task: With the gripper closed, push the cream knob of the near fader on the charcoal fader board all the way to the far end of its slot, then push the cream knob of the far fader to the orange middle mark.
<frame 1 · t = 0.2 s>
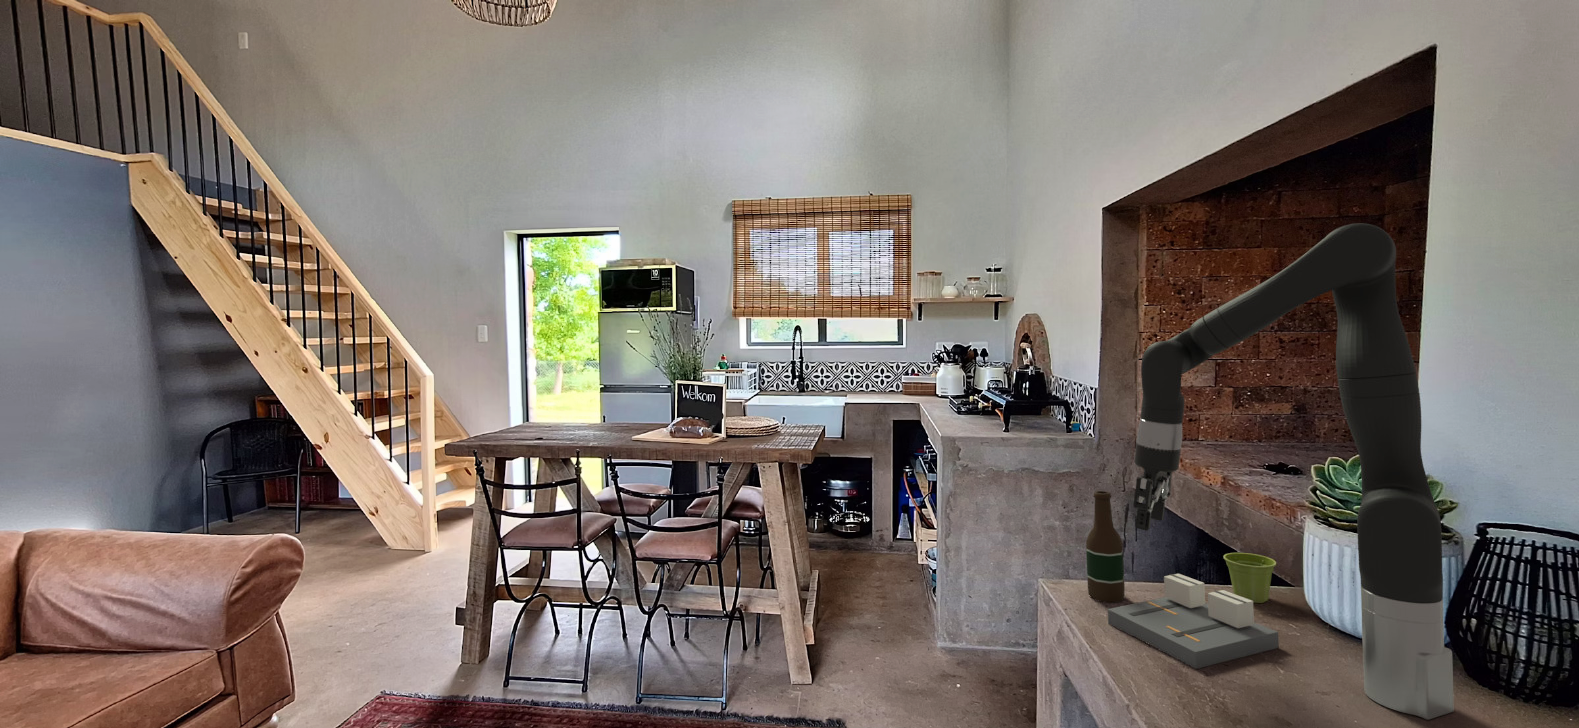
hand: (1149, 524, 124), 22 cm above the table, tool pointing down, fingers open, 8 cm apart
plant pot: (1250, 599, 139), on the table
beer bottle: (1106, 597, 144), on the table
near fader: (1230, 608, 121), point 6 cm above the table, slide at 0.0 cm
far fader: (1184, 590, 131), point 6 cm above the table, slide at 0.0 cm
fader board: (1188, 635, 124), on the table
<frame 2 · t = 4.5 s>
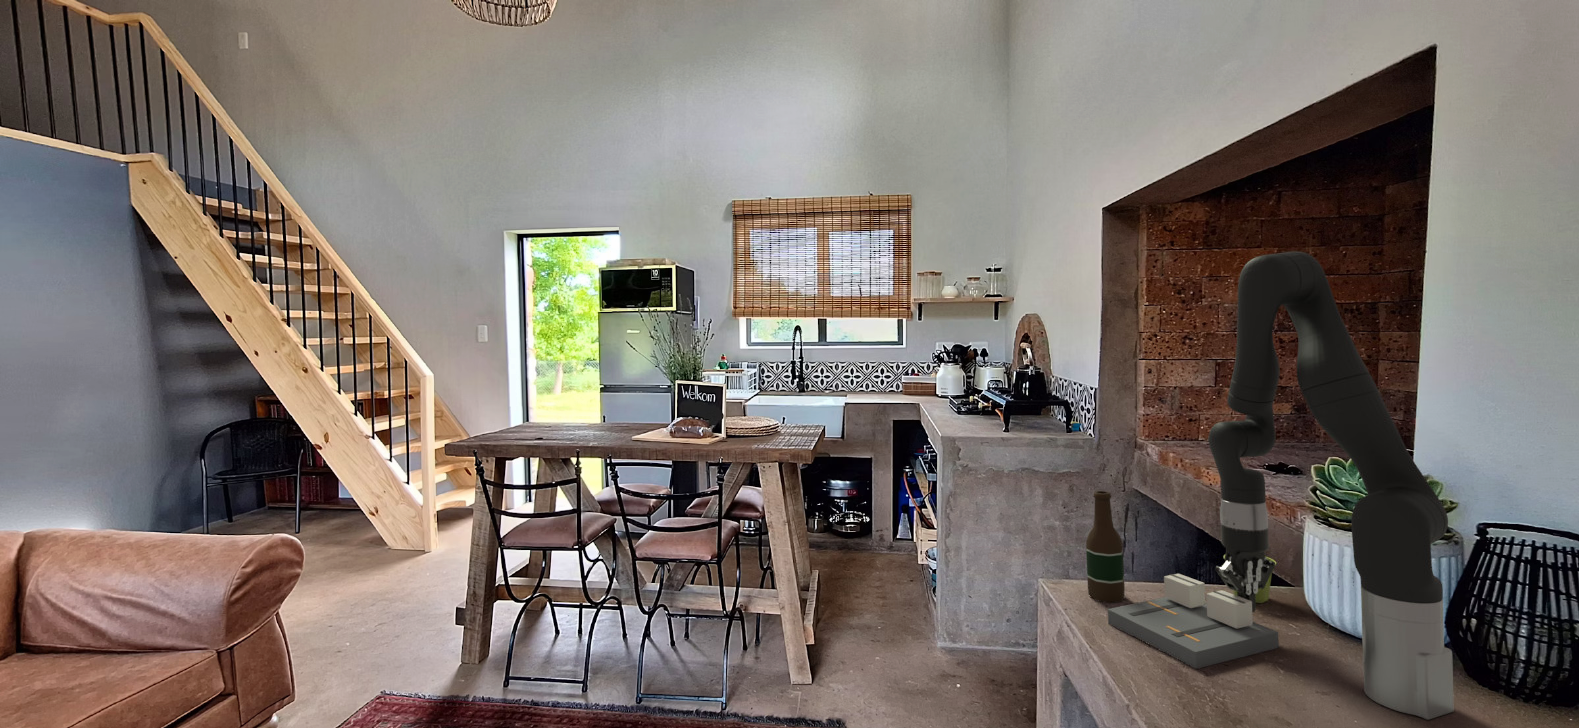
hand: (1247, 611, 123), 5 cm above the table, tool pointing down, fingers closed
near fader: (1229, 608, 121), point 6 cm above the table, slide at 0.3 cm, touching gripper
everything else where it was.
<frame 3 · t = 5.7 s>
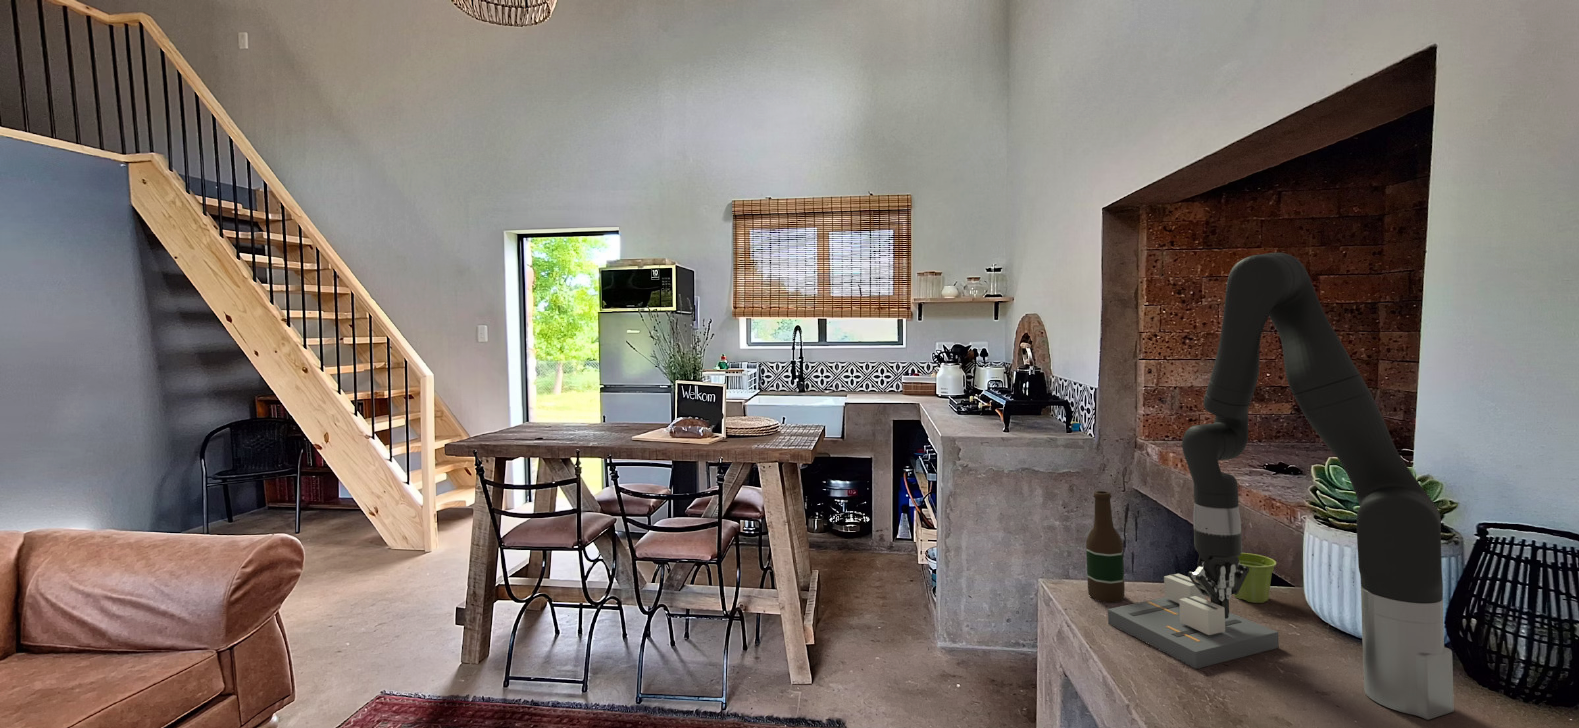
hand: (1220, 617, 121), 5 cm above the table, tool pointing down, fingers closed
near fader: (1201, 614, 119), point 6 cm above the table, slide at 7.2 cm, touching gripper
everything else where it was.
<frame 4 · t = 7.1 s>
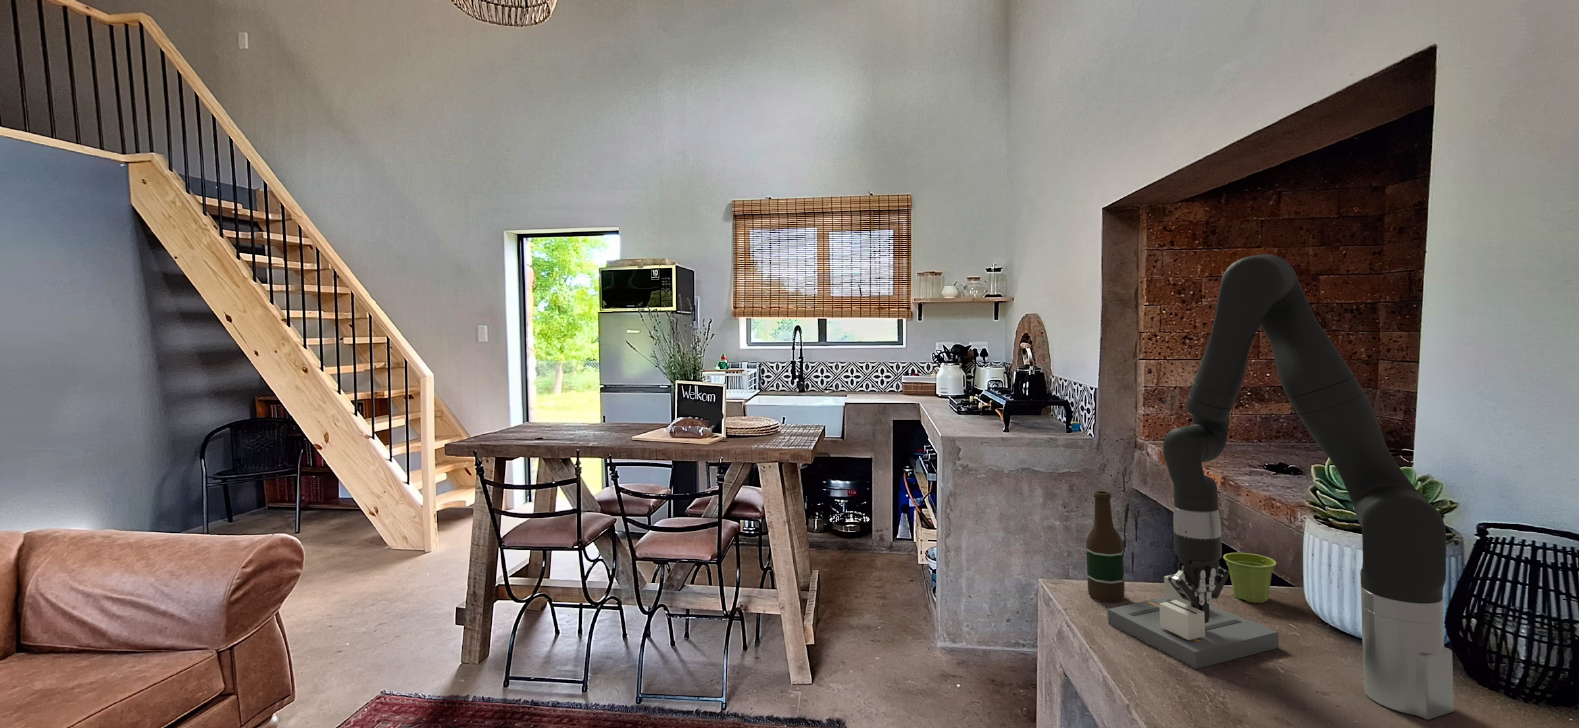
hand: (1200, 621, 119), 5 cm above the table, tool pointing down, fingers closed
near fader: (1181, 619, 118), point 6 cm above the table, slide at 12.1 cm, touching gripper
everything else where it was.
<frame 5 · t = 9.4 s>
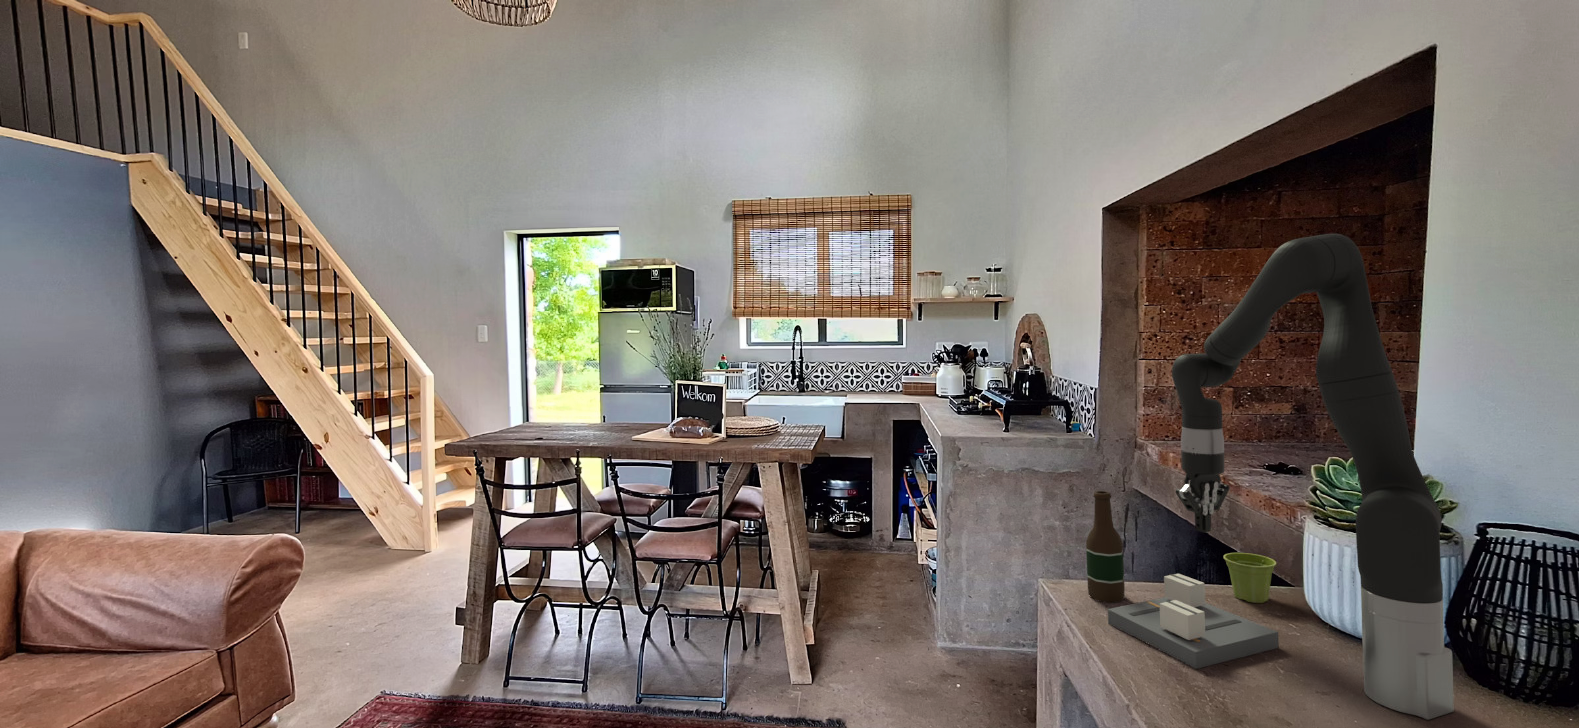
hand: (1203, 531, 132), 18 cm above the table, tool pointing down, fingers closed
near fader: (1181, 619, 118), point 6 cm above the table, slide at 12.0 cm
everything else where it was.
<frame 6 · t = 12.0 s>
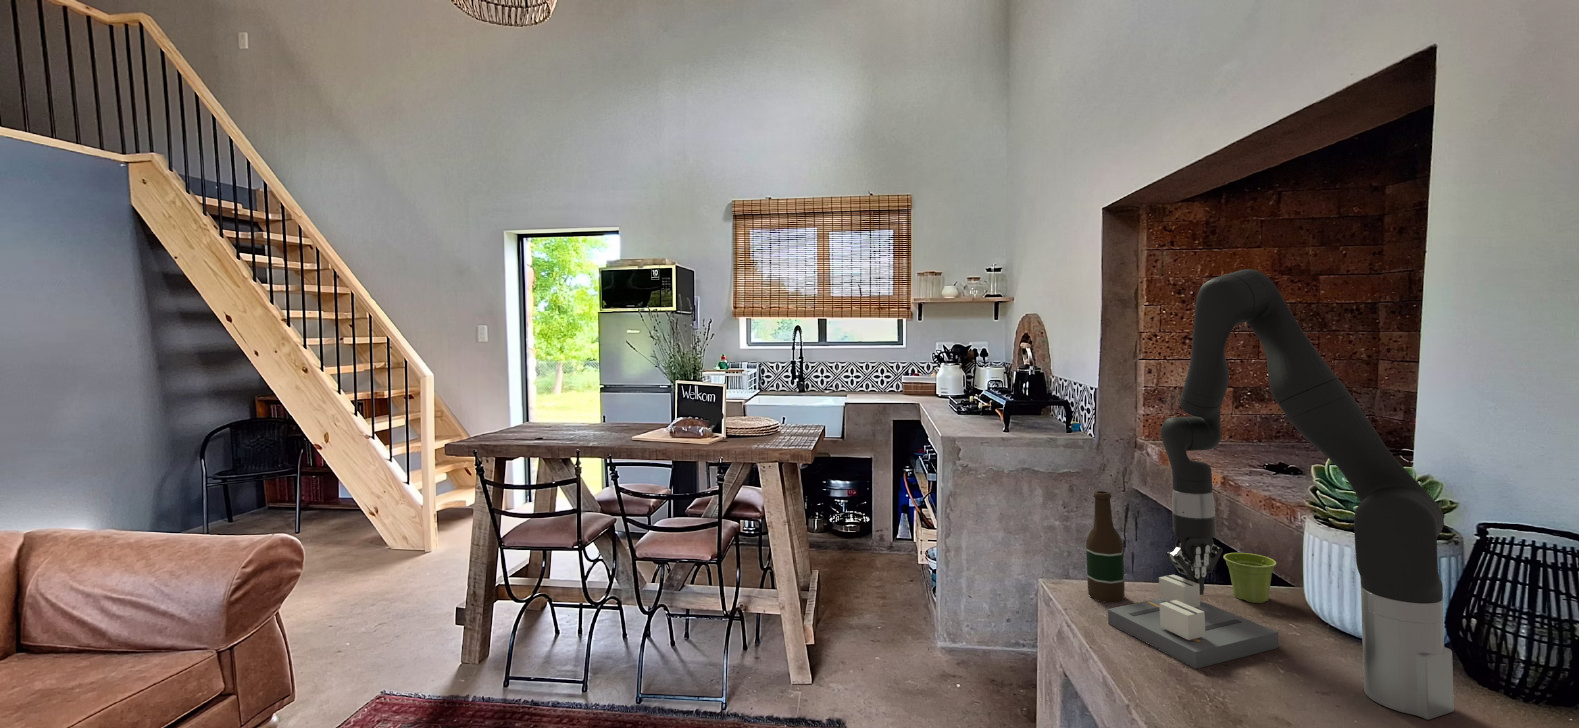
hand: (1196, 593, 132), 5 cm above the table, tool pointing down, fingers closed
far fader: (1179, 591, 131), point 6 cm above the table, slide at 1.4 cm, touching gripper
everything else where it was.
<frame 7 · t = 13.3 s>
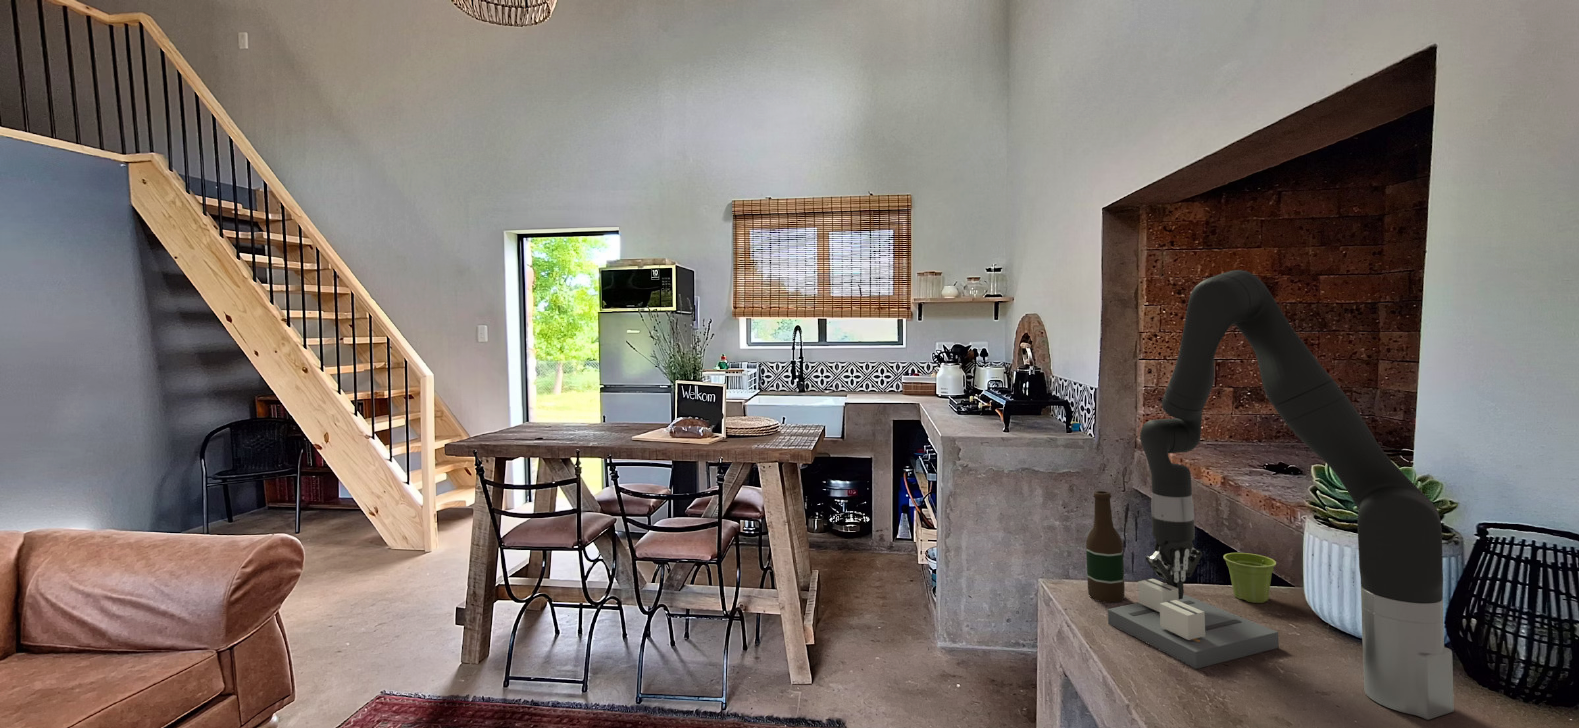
hand: (1175, 598, 130), 5 cm above the table, tool pointing down, fingers closed
far fader: (1158, 595, 129), point 6 cm above the table, slide at 6.9 cm, touching gripper
everything else where it was.
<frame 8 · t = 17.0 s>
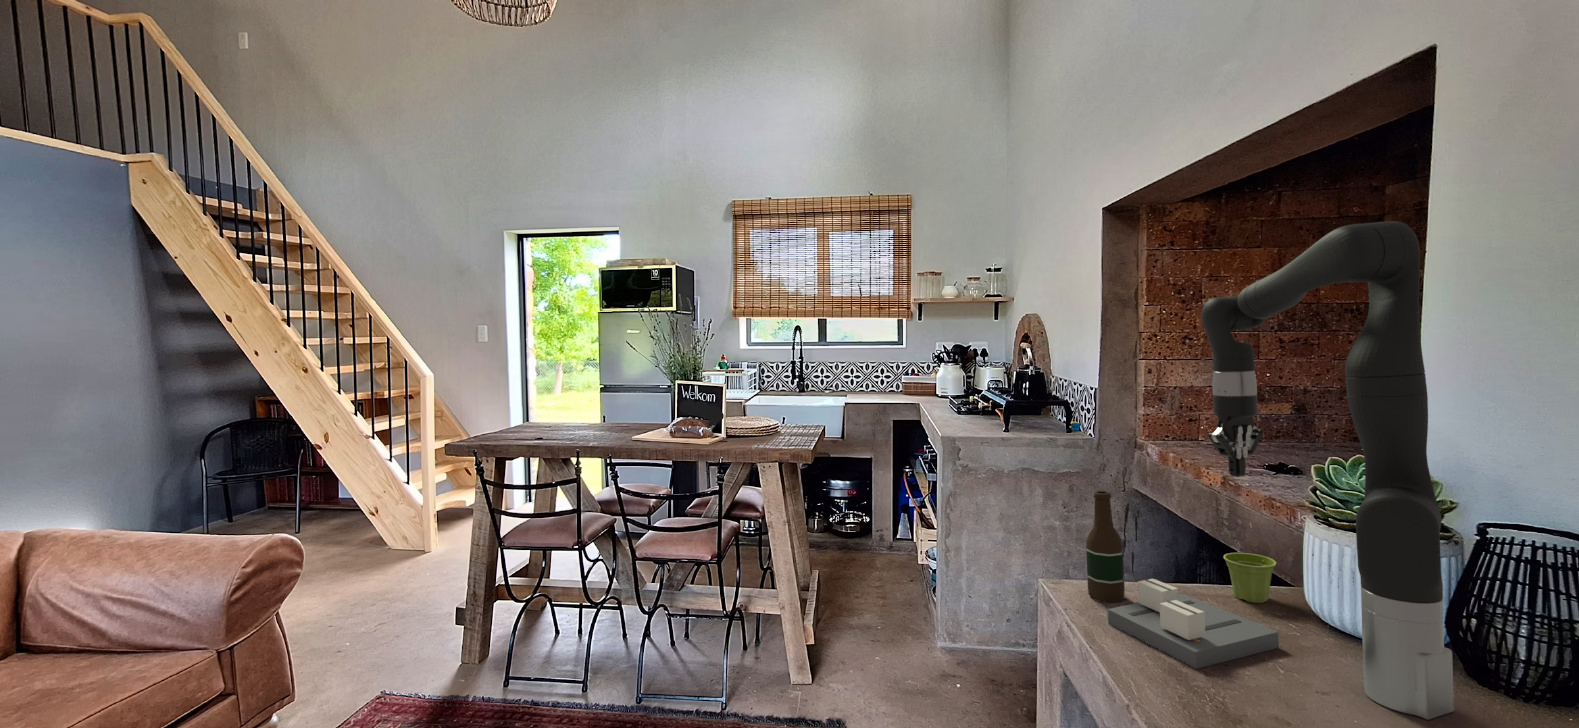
hand: (1237, 475, 131), 29 cm above the table, tool pointing down, fingers closed
far fader: (1157, 595, 129), point 6 cm above the table, slide at 7.0 cm
everything else where it was.
at the end: near fader slide at 12.0 cm; far fader slide at 7.0 cm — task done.
